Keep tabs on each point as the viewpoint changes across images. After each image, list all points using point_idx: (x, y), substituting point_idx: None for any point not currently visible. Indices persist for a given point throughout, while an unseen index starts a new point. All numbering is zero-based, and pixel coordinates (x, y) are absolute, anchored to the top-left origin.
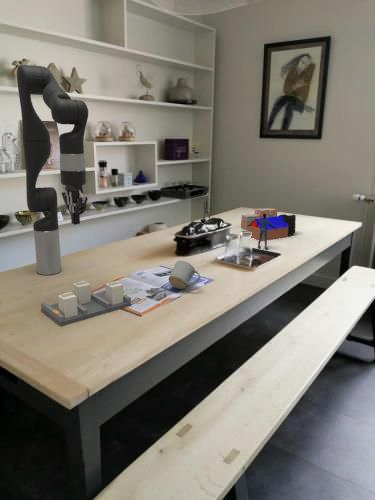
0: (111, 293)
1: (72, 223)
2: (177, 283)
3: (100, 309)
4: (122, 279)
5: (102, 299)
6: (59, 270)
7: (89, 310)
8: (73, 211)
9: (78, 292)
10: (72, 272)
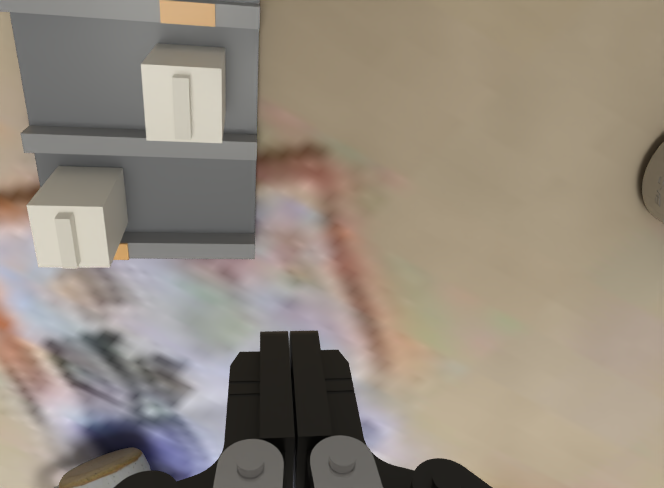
0: (47, 190)
1: (294, 331)
2: (94, 465)
3: (40, 94)
4: (361, 357)
5: (97, 147)
6: (648, 203)
7: (59, 44)
8: (225, 465)
9: (152, 57)
10: (605, 248)
